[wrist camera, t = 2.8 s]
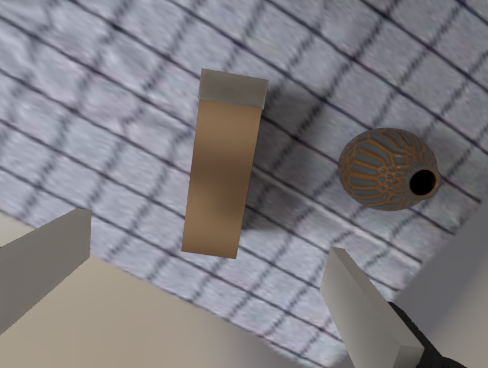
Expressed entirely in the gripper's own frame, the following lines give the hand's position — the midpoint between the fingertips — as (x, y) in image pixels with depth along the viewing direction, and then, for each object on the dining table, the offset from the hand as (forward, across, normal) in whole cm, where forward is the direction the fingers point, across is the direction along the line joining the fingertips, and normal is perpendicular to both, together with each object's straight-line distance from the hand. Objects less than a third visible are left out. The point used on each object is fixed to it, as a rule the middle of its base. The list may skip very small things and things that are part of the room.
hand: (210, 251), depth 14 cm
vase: (+13, +13, +5) cm, 19 cm away
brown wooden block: (+12, 0, +3) cm, 13 cm away
